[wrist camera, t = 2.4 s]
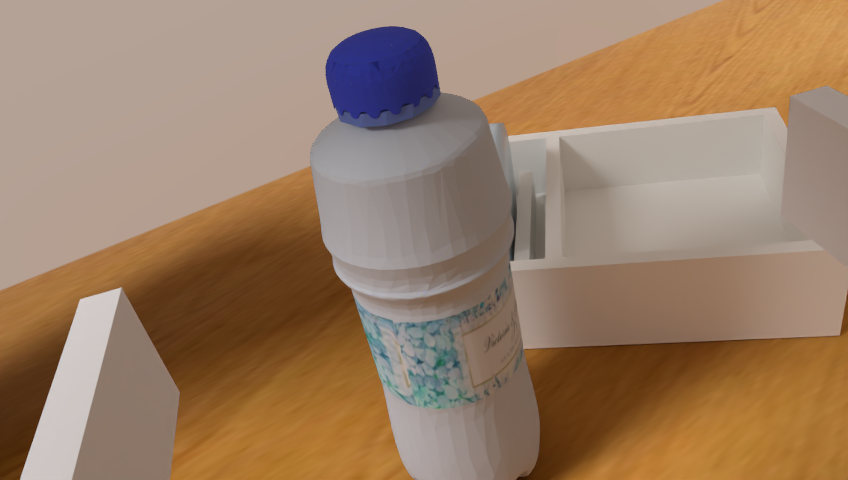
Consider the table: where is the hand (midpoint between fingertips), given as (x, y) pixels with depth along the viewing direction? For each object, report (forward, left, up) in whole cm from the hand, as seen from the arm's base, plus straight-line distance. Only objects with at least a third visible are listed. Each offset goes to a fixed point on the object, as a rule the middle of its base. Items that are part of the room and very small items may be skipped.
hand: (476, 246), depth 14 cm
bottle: (-4, +9, -19) cm, 21 cm away
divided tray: (+4, +23, -19) cm, 30 cm away
